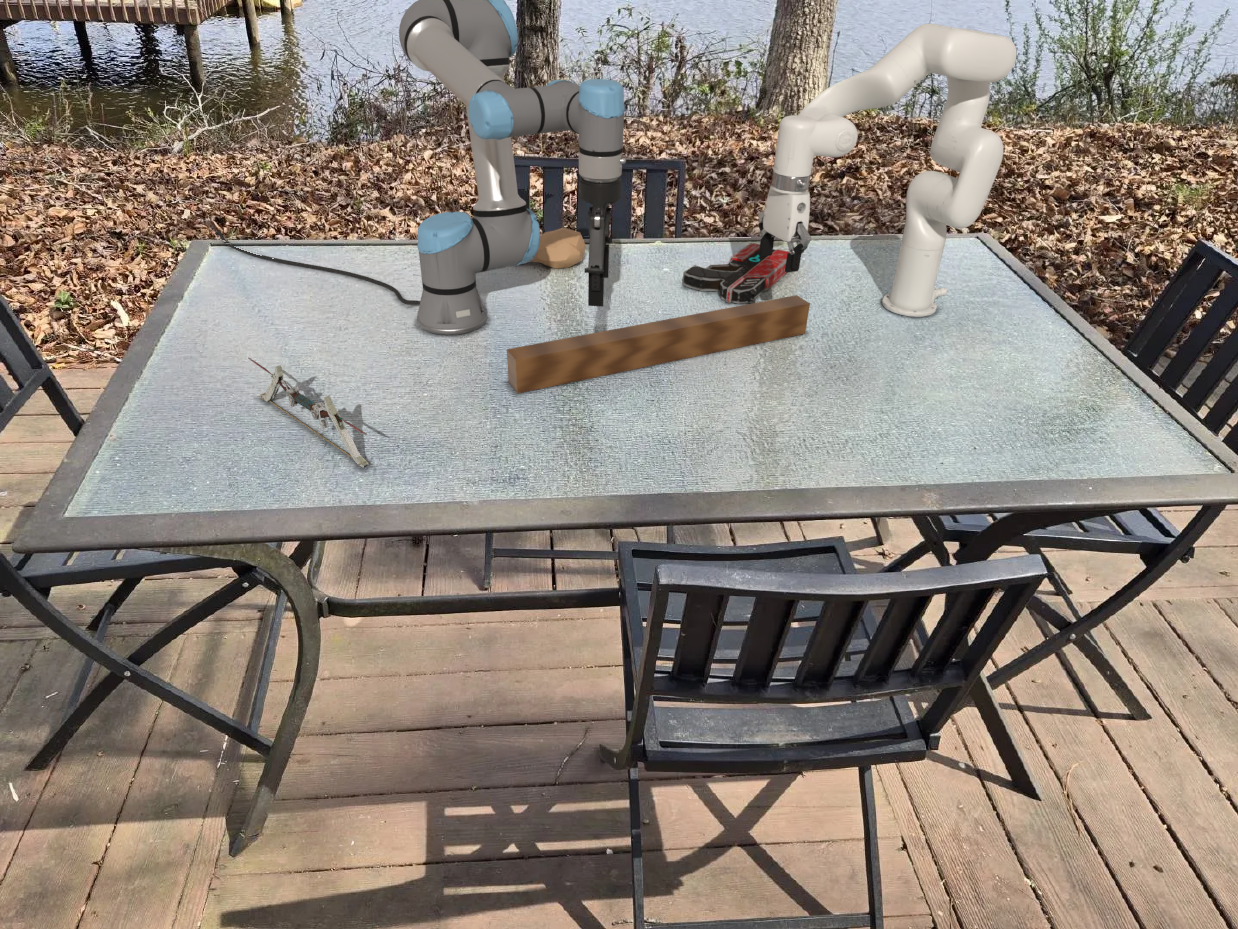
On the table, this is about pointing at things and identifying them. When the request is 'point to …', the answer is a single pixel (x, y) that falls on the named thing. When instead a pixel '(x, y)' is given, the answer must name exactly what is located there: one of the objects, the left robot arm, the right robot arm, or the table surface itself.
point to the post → (654, 343)
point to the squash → (560, 248)
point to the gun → (739, 275)
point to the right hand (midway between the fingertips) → (778, 263)
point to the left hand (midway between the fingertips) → (598, 290)
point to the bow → (313, 411)
